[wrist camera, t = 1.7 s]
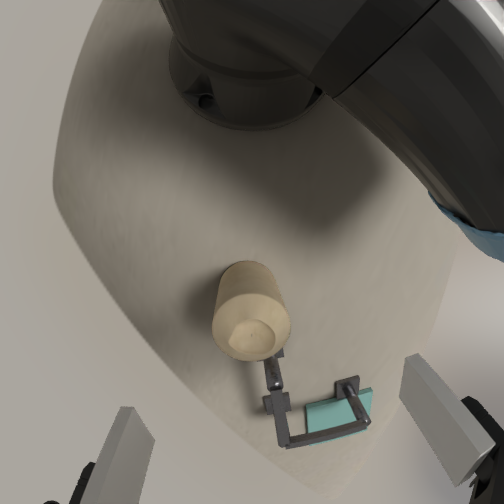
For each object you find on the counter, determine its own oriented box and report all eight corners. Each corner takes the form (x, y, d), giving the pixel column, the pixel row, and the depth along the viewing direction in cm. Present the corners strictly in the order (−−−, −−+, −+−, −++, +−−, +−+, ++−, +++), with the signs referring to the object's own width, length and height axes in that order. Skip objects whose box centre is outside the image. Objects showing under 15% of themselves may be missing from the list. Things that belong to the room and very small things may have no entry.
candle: (219, 312, 28) (211, 373, 18) (218, 259, 26) (207, 301, 17) (274, 312, 28) (290, 372, 18) (276, 260, 27) (297, 301, 17)
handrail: (251, 336, 28) (255, 380, 21) (359, 313, 28) (390, 348, 21) (267, 411, 31) (272, 456, 24) (357, 391, 31) (377, 430, 24)
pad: (305, 404, 31) (306, 408, 30) (370, 387, 31) (372, 390, 31) (308, 442, 33) (309, 445, 33) (365, 426, 33) (366, 430, 33)
